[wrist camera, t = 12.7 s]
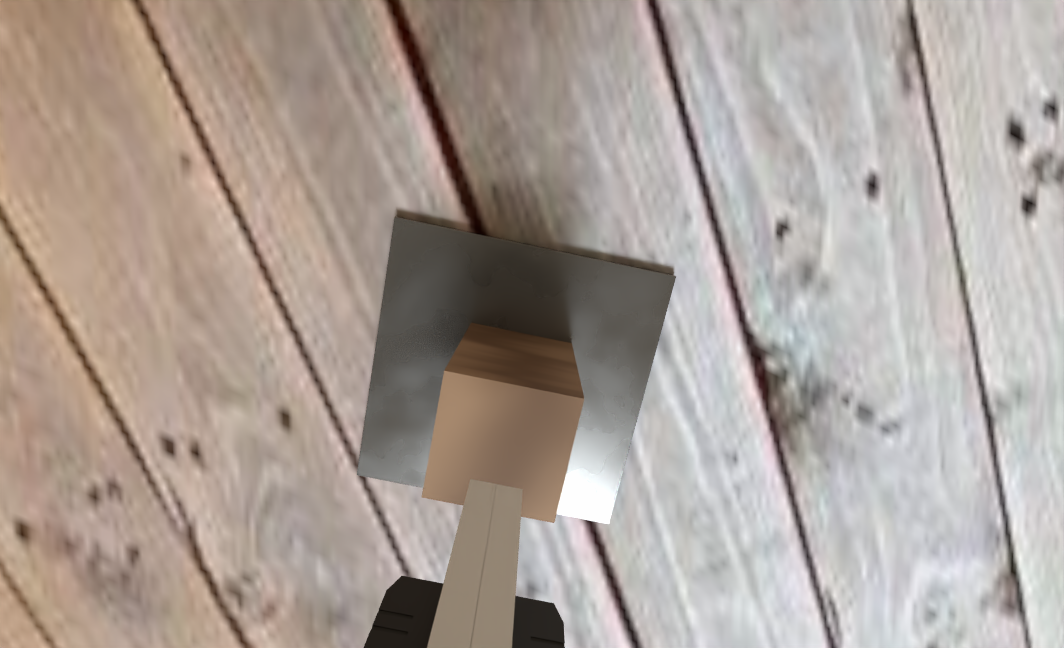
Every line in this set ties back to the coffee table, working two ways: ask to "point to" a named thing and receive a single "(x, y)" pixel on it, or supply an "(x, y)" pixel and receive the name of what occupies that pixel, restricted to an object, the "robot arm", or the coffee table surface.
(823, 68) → the coffee table surface
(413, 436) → the grey square base plate
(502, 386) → the tan wooden block
